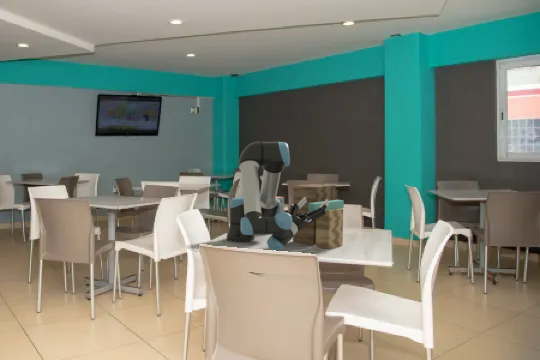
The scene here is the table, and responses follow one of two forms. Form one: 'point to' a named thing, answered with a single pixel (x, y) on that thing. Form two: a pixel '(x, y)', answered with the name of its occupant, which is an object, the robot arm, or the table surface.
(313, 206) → the batten
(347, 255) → the table surface
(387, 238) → the table surface
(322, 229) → the short stand
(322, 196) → the tall stand
